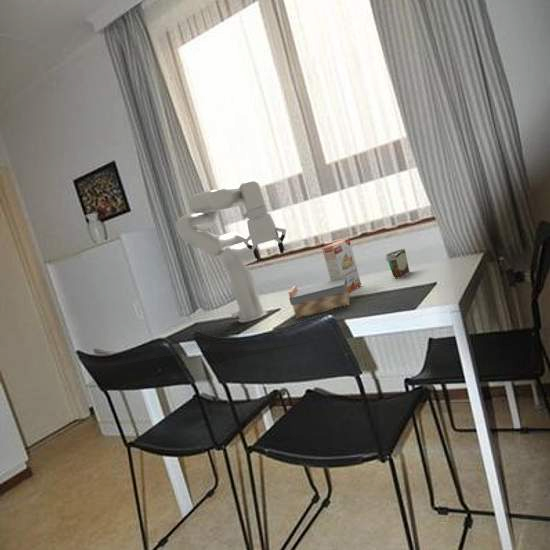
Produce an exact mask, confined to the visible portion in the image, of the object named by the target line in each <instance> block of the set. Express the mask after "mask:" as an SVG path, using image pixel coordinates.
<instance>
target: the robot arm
mask: <svg viewBox="0 0 550 550" xmlns="http://www.w3.org/2000/svg"><path fill="white" fill-rule="evenodd" d="M259 183H260V182H259V181H258V180H256V179H253V180H252V179H251V180H248V181H245V182H242V183H241V184H240V185H235V186H230V187H226V188H221V189H211V190H208V191H203V192H198V193H195V194H193V195H192V196H191V197H190V198H189V200H188V208H189V209H190V211H192V212H191V213H188V214H187V213H186V214H184V215H183V216H180V217H179V218H178V219H177V221H176V225H175V226H176V227H175V228H176V231H177V233H178V235H179V236H180V238H181V239H183V241H184V242H185V243H187V244H188V245H190V246H193V247H195V248H197V249H198V250H201V251H202V252H204V253H206V254H208V255H210V256H212V257H213V258H216V259H220V260H221V263H222V265H223V267H224V269H225V271H226V273H227V275H228V279H229V281H230V284H231V287H232V290H233V294H234V296H235V300H236V303H237V306H238V311H236V312H233V313H232V312H231V317H232V318H238V322H239V323H249V322H252V321H255V320H258V319H261V318H263V317H266V316H267V315H268V313H269V312H268V311H267V310H266V309H263V306H262V302H261V300H260V299H261V298H260V296H259V292H258V288H257V286H256V282H255V279H254V276H253V273H252V272H251V271H250V270H249V269H248V268H247V265H251V264H252V263H254V262H257V261H259V260H261V249H260V247H259V245H261V244H264V243H267V242H271V241H276V242H277V247H278V249H279V253H280V254H281V255H282V254H284V251H285V250H286V249H285V245H284V243H283V242H284V239H285V238H286V234H287V229H286V228H282V227H276V224H275V221H274V219H273V217H272V215H271V214H270V213H269V212H268V209H267V205H266V202H265V199H264V197H263V192H262V189H261V185H260V184H259ZM243 205H244V208H245V211H246V213H244V214H243V217H244V218H247V221H246V222H247V224H246V225H247V228H248V229H247V230H248V234H249V235H248V237H245V236H243V235H242V234H240V233H237V232H233V231H231V232H227V233H224V234H219V235H217V234H213V233H212V232H211V231H208V230H207V229H210V228H211V227H212V226H214V224H215V222H216V220H217V218H218V217H217V216H218V215H219V212H220V210H227V209H230V208H234V207H240V206H243ZM279 233H281V236H279Z"/></svg>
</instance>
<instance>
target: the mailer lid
mask: <svg viewBox="0 0 550 550" xmlns="http://www.w3.org/2000/svg"><path fill="white" fill-rule="evenodd" d="M345 282H346V284H347V280H346V277H345V278H341V279H337V280H333V281H331V280H330V281H327V282H326V281H325V282H322V283H318V284H315V285H311V286H307V287H303V288H302V287H301V288H298V287H297V285H293V286H292V287H291V289H290V290H289V291H288V297H289V299H288V300H289V303H290V306H293V305H294V304H298V303H302V302H306V301H310V300H314V299H318V298H322V297H326V296H330V295H334V294H338V293H342V292H346V290H345Z"/></svg>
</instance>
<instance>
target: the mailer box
mask: <svg viewBox="0 0 550 550" xmlns="http://www.w3.org/2000/svg"><path fill="white" fill-rule="evenodd" d="M345 290H346V292H342V293H338V294H334V295H330V296H326V297H322V298H318V299H314V300H310V301H306V302H302V303H298V304H294V305H292V308H293V311H294V312H293V313H294V314H295V318H296V319H299V318H302V317H305V316H306V317H307V316H310V315H315V314H319V313H322V312H327V311H331V310H334V309H333V308H336V309H338V308H337V307H340V308H342V307H341V306H344V307H346V306H345V305H348V306H350V302H349V300H350V301H351V295H350V293H349V291H348V287H347V284H346V282H345ZM330 309H331V310H330Z"/></svg>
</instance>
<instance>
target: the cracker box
mask: <svg viewBox="0 0 550 550" xmlns="http://www.w3.org/2000/svg"><path fill="white" fill-rule="evenodd" d="M352 248H353V247H352V243H351V239H349V238H347V239H346V238H345V239H342V240H338V241H335V242H333V243H330V244H328V245H326V246H324V247H322V249H321V250H322V253H323V257H324V261H325V264H326V268H327V271H328V276H329V279H330V281H333V280H337V279H341V278H345V277H346V280H347V287H348V291H349V294H350V293H352V292H353V290H354V289H355V290H356V288H357V287H358V288H360V287H361V286H362V281H361V279H360V274H359V271H358V267H357V264H356V260H355V256H354V253H353V252H354V251H353V249H352ZM360 285H361V286H360ZM359 286H360V287H359ZM358 288H357V289H358ZM355 290H354V291H355ZM351 291H352V292H351Z"/></svg>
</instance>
